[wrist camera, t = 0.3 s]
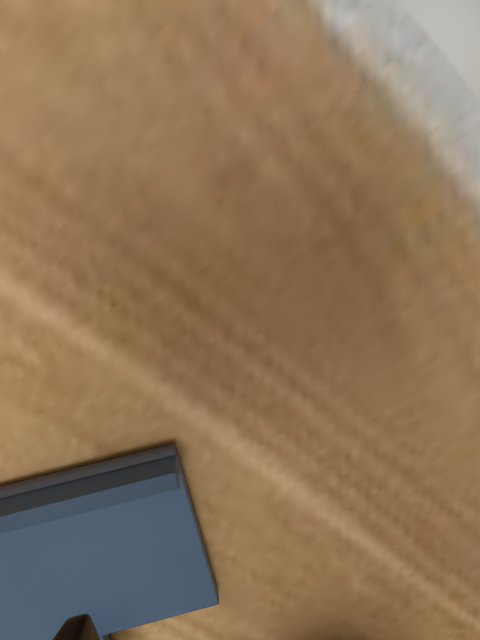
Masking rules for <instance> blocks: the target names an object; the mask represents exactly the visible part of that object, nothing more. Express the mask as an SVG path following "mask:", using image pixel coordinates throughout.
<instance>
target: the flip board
mask: <svg viewBox="0 0 480 640" xmlns="http://www.w3.org/2000/svg"><path fill="white" fill-rule="evenodd" d="M217 604H219V596H218V591H217V587H216V584H215V580H214V577H213V574H212V570H211V567H210V563H209V560H208V556H207V553H206V549H205V546H204V542H203V539H202V536H201V532H200V529H199V525H198V522H197V518H196V515H195V511H194V508H193V505H192V501H191V498H190V494H189V491H188V487H187V484H186V480H185V477H184V473H183V470H182V467H181V463H180V460H179V456H178V453H177V449H176V446H175V444H170V445H166V446H162V447H158V448H154V449H150V450H146V451H142V452H138V453H134V454H130V455H126V456H122V457H118V458H114V459H110V460H106V461H102V462H98V463H93V464H89V465H85V466H81V467H77V468H73V469H69V470H65V471H61V472H57V473H53V474H49V475H45V476H41V477H37V478H33V479H29V480H25V481H21V482H17V483H13V484H9V485H5V486H0V640H53V638H54V637H55V635H56V634H57V632H58V631H59V630H60V628H61V627H62V625H63V624H64V622H65V621H66V620H67V619H68V618H70V617H73V616H77V615H81V614H89V615H90V616H91V618H92V620H93V623H94V625H95V628H96V630H97V633H98V635H99V638H100V640H110V638H109V635H108V634H111V633H114V632H118V631H122V630H125V629H129V628H133V627H136V626H140V625H144V624H147V623H151V622H155V621H158V620H162V619H166V618H170V617H173V616H177V615H181V614H184V613H188V612H192V611H195V610H199V609H203V608H206V607H210V606H214V605H217Z"/></svg>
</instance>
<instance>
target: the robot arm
mask: <svg viewBox="0 0 480 640" xmlns="http://www.w3.org/2000/svg"><path fill="white" fill-rule="evenodd" d="M53 640H100V638H99V635H98V633H97V630H96V628H95V625H94V623H93V620H92V618H91V616H90V615H89V614H81V615H77V616H73V617H70V618H68V619H67V620H66V621H65V622H64V624H63V625H62V627H61V628H60V630H59V631H58V632H57V634H56V635H55V637H54V638H53Z"/></svg>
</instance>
